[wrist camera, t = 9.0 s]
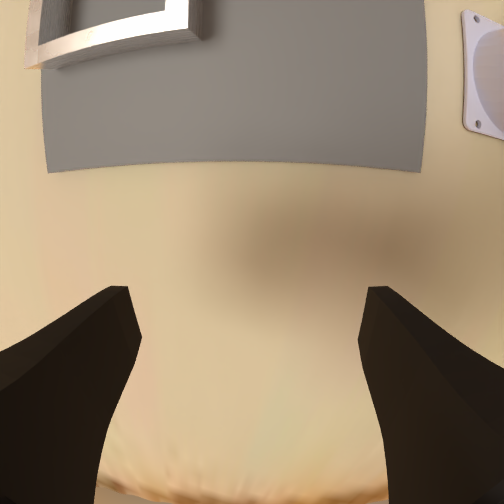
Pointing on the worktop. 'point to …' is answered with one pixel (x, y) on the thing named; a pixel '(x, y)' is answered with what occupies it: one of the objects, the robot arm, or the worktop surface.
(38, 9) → the square storage bin
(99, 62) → the board
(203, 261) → the worktop surface
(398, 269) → the worktop surface
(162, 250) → the worktop surface
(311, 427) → the worktop surface
